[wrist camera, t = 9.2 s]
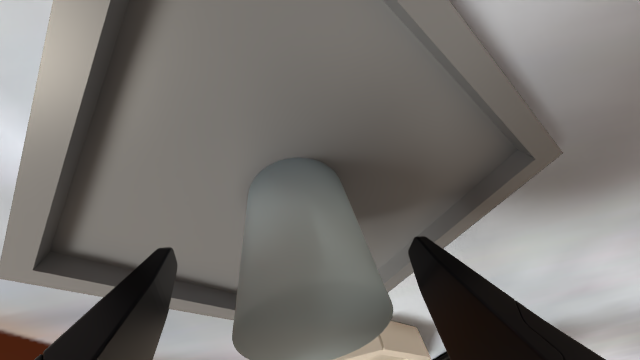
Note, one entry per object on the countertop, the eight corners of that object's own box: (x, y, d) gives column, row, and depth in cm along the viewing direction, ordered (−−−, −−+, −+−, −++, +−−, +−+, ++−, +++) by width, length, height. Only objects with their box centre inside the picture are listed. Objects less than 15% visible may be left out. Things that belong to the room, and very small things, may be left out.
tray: (533, 138, 13) (563, 152, 12) (327, 315, 20) (331, 337, 18) (171, -307, 5) (137, -417, 4) (27, 248, 12) (-3, 278, 10)
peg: (361, 184, 12) (424, 303, 7) (308, 242, 14) (329, 371, 9) (281, 138, 10) (293, 260, 5) (230, 213, 12) (202, 358, 7)
